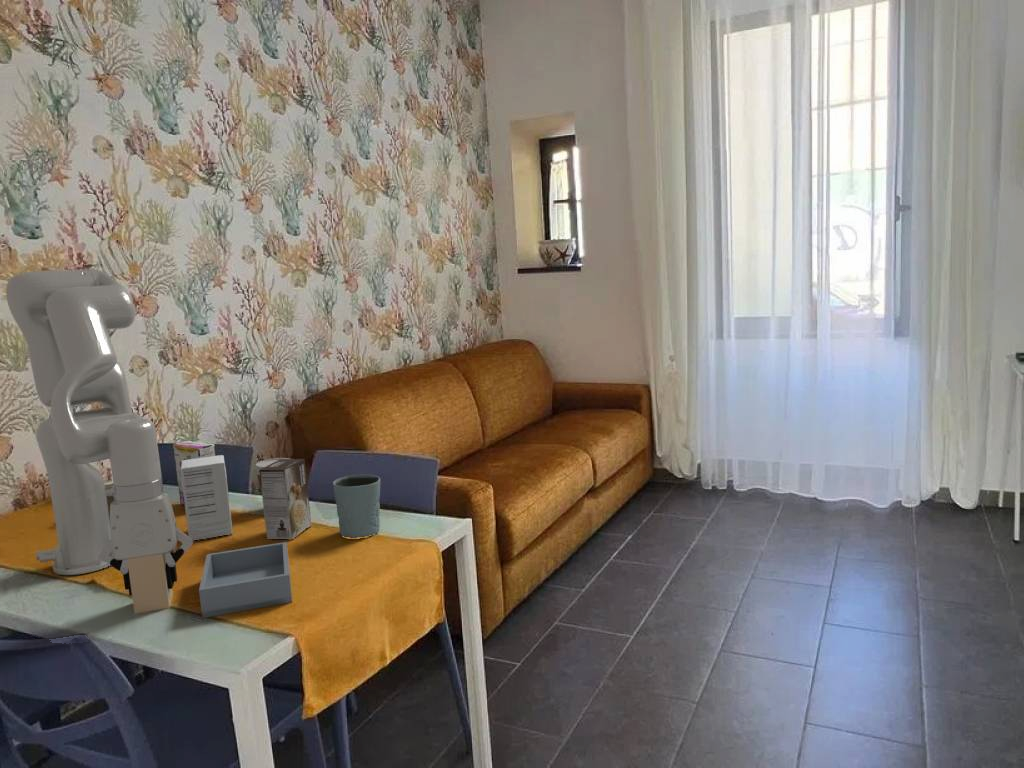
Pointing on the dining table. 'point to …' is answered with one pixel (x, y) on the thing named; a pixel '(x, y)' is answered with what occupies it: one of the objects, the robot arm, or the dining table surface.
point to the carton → (149, 583)
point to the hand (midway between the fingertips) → (152, 588)
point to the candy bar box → (190, 457)
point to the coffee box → (285, 498)
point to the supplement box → (206, 497)
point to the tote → (245, 579)
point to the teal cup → (358, 505)
